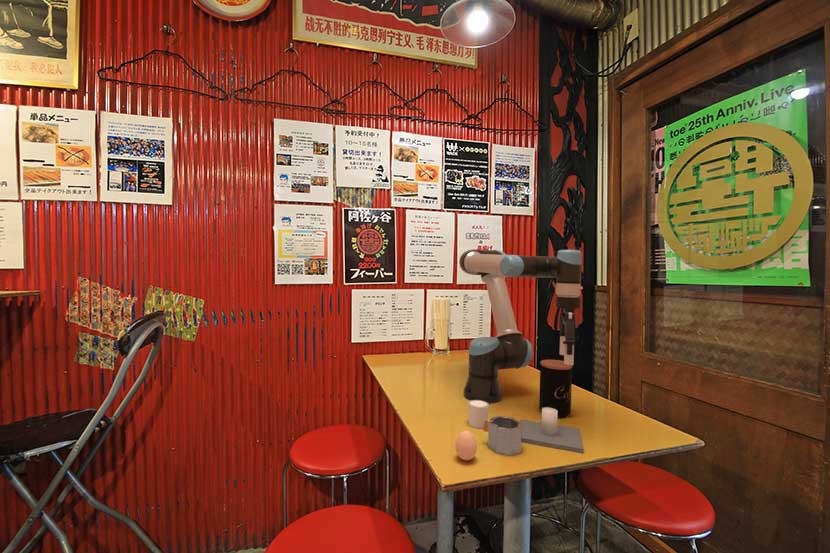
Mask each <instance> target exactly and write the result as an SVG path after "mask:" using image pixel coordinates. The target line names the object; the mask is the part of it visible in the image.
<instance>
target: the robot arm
mask: <svg viewBox="0 0 830 553" xmlns="http://www.w3.org/2000/svg"><path fill="white" fill-rule="evenodd" d="M582 255H583V254H582V251H580V250H579V249H560V250H558V251H557V254H556V256H542V255H541V256H540V255H536V256H535V255H517V254H506V253H505V252H504V251H501V250H497V249H492V250H491V249H470V250H466V251H464V252H463V253H462V254H461V256H460V257H459V263H458V264H459V267H460V268H461V270H462V271H463V272H464V273H466V274H468V275H472V276H473V275H474V276H480V279H481V282H482V283H484V284H485V285H486V290H487V294H488V295H487V296H488V298H489V302H490V306H491V312H492V316H493V321H494V325H495V329H496V335H495V337H494V336H481V337H480V336H479V337H476V338H473V339H472V340H471V341H470V342H469V347H468V348H469V349H468V377H467V380H466V382H465V386H464V388H463V396H464V398H466V399H467V400H468V401H471V400H481V401H485V402H487V403H488V404H491V403H493V404H494V403H497V402H500V401H502V400H503V392H502V389H501V384H500V382H499V371H500V370H507V369H508V370H511V369H512V370H513V369H516V370H517V369H521V368H526V367H527V366H529V365H530V363H531V361H532V359H533V353H534V352H533V346H532V343H531V342H530V341H529V340H528V339H526V338H524V336H523V333H522V332H521V331H519V330H518V327H517V323H516V322H517V321H516V318H515V315H514V311H513V306H512V302H511V300H510V299H511V298H510V294H509V291H508V290H509V289H508V287H507V283H506V282H507V281H506V279H507V277H509V278H541V279H543V278H544V279H546V278H548V279H550V278H553V279H555V278H556V282H555V286H556V287H555V294H556V295H557V296H556V297H555V307H556V308H557V309H561V312H560V322H559V323H560V325H559V355H560V356H563V361H564V364H565V365H572V366H574V358H575V356H574V354H575V344H576V331H575V329H576V328H575V326H576V324H575V323H576V322H575V319H576V318H575V317H576V314H575V312H574V311H573V310H577V309H578V310H579V309H580V308H581V298H580V296H581V290H583V289H584V288H583V286H582V285H581V284H582V269H583V268H582V266H583V262H582V261H583V258H582Z"/></svg>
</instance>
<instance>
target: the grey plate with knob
mask: <svg viewBox="0 0 830 553" xmlns="http://www.w3.org/2000/svg"><path fill="white" fill-rule="evenodd" d="M557 416H558V411H557V410H556V409H553V408H548V407H545V408H542V412H541V422H539V421H533V420H528V419H521V418H520V419H519V421H520V422H521V423H522V443H525V444H531V445H536V446H540V447H547V448H552V449H559V450H563V451H569V452H575V453H581V454H584V444H583V440H582V435H581V431H580V428H579V427H578V428H577V427H572V426H571V427H570V426H566V425H565V426H564V425H558V418H557Z"/></svg>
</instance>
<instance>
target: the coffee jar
mask: <svg viewBox="0 0 830 553" xmlns="http://www.w3.org/2000/svg"><path fill="white" fill-rule="evenodd" d="M540 365H541V367H540V369H539V370H540V371H539V396H538V397H539V400H538V403H539V404H538V407H539V410H540V412H541V413H542V408H545V407H548V408H553V409H556V410H557V411H558V416H557V419H564V418H565V419H566V418H567V417H569V416H570V414H571V413H572V387H573V386H572V383H573V382H572V380H573V379H572V378H573V372H572V370H571V369H572V368H573V365H565V364H564V360H559V359H542V360H540Z"/></svg>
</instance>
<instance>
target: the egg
mask: <svg viewBox="0 0 830 553" xmlns="http://www.w3.org/2000/svg"><path fill="white" fill-rule="evenodd" d="M454 447H455V452H456V454H457V456H458V457H459V458H460V459H461V460H463V461H470V460H472V459H473V458H474V457H475V456H476V454H477V451H478V443H477V440H476V437H475V435H474V434H473V433H472V432H471V431H470V430H463V431H461V432H460V433H459V434H458V436H457V437H456V440H455V445H454Z"/></svg>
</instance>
